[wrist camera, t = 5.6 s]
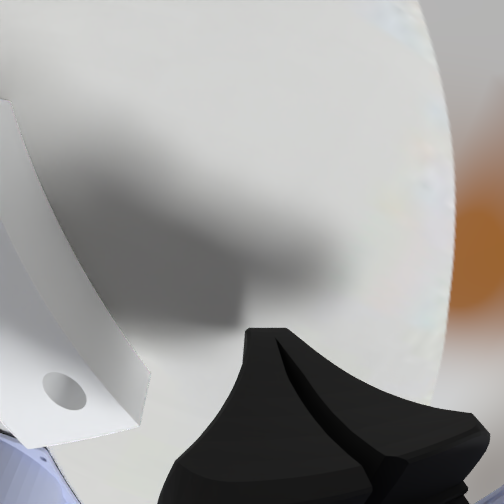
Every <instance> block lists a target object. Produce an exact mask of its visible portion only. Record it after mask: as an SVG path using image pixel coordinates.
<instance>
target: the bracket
mask: <svg viewBox="0 0 504 504" xmlns="http://www.w3.org/2000/svg"><path fill="white" fill-rule="evenodd" d="M150 377H151V372H150V370H149V369H148V368H147V366H146V365H145V364H144V362H143V361H142V360H141V358H140V357H139V356H138V354H137V353H136V351H135V350H134V349H133V347H132V346H131V344H130V343H129V341H128V340H127V339H126V337H125V336H124V334H123V333H122V331H121V330H120V328H119V327H118V325H117V324H116V322H115V321H114V319H113V318H112V316H111V315H110V313H109V311H108V310H107V308H106V307H105V305H104V304H103V302H102V300H101V299H100V297H99V295H98V294H97V292H96V291H95V289H94V287H93V286H92V284H91V282H90V280H89V279H88V277H87V275H86V274H85V272H84V270H83V268H82V266H81V265H80V263H79V261H78V259H77V257H76V256H75V254H74V252H73V250H72V248H71V246H70V244H69V242H68V241H67V239H66V237H65V235H64V233H63V231H62V229H61V227H60V225H59V223H58V221H57V219H56V217H55V214H54V212H53V210H52V208H51V206H50V204H49V202H48V199H47V197H46V195H45V193H44V190H43V188H42V186H41V183H40V181H39V179H38V176H37V174H36V171H35V169H34V167H33V164H32V161H31V159H30V156H29V154H28V151H27V148H26V146H25V143H24V140H23V137H22V134H21V132H20V129H19V126H18V123H17V120H16V116H15V113H14V110H13V107H12V103H11V101H9V100H4V99H0V421H1V422H2V424H3V425H4V426H5V427H6V428H7V429H8V430H9V431H10V432H11V433H12V434H13V435H14V436H15V437H16V438H17V439H18V440H19V441H20V442H21V443H22V444H23V445H24V446H25V447H26V448H27V449H34V448H41V447H47V446H54V445H60V444H65V443H71V442H76V441H81V440H86V439H91V438H95V437H100V436H104V435H108V434H113V433H117V432H121V431H125V430H129V429H132V428H136V427H140V424H141V419H142V414H143V409H144V404H145V400H146V395H147V390H148V386H149V381H150Z"/></svg>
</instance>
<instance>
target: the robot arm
mask: <svg viewBox="0 0 504 504" xmlns="http://www.w3.org/2000/svg"><path fill="white" fill-rule="evenodd" d="M489 442H490V433H489V432H488V431H487V430H486V429H485V428H484V426H483V425H482V424H481V423H480V422H479V421H478V420H477V418H476V417H475V416H474V415H473V414H472V413H465V412H458V411H451V410H444V409H439V408H434V407H430V406H426V405H422V404H419V403H415V402H412V401H408V400H405V399H402V398H400V397H397V396H394V395H392V394H389V393H386V392H384V391H382V390H379V389H377V388H375V387H373V386H371V385H369V384H367V383H365V382H363V381H361V380H359V379H357V378H355V377H353V376H352V375H350V374H348V373H347V372H345V371H344V370H342V369H340V368H339V367H337V366H336V365H334V364H333V363H331V362H330V361H329V360H327V359H326V358H324V357H323V356H322V355H320V354H319V353H318V352H316V351H315V350H314V349H312V348H311V347H310V346H309V345H307V344H306V343H305V342H304V341H302V340H301V339H300V338H299V337H297V336H296V335H295V334H294V333H292V332H291V331H290V330H289V329H287V328H248V329H247V330H246V331H245V340H244V352H243V364H242V367H241V369H240V372H239V375H238V378H237V380H236V382H235V385H234V387H233V389H232V391H231V393H230V394H229V396H228V398H227V400H226V401H225V403H224V405H223V406H222V408H221V410H220V411H219V413H218V414H217V416H216V417H215V418H214V420H213V421H212V422H211V423H210V425H209V426H208V427H207V428H206V430H205V431H204V432H203V433H202V435H201V436H200V437H199V438H198V439H197V440H196V441H195V442H194V443H193V444H192V445H191V446H190V447H189V448H188V449H187V450H186V451H185V452H184V453H183V454H182V455H181V456H180V457H179V458H178V459H177V460H175V462H174V464H173V466H172V468H171V470H170V472H169V474H168V476H167V479H166V481H165V483H164V485H163V488H162V490H161V493H160V496H159V499H158V503H157V504H469V503H468V501H467V499H466V498H465V496H464V494H465V493H466V492H467V491H468V487H467V486H466V484H465V483H464V481H463V480H464V479H465V477H467V475H468V474H469V473H470V472H471V470H472V469H473V468H474V467H475V465H476V464H477V463H478V461H479V460H480V459H481V457H482V456H483V454H484V453H485V451H486V449H487V447H488V445H489ZM0 504H80V503H79V501H78V500H77V498H76V497H75V495H74V494H73V492H72V491H71V489H70V488H69V486H68V485H67V483H66V482H65V480H64V478H63V477H62V475H61V473H60V472H59V470H58V468H57V467H56V465H55V463H54V462H53V460H52V458H51V456H50V454H49V453H48V451H47V450H46V449H45V448H43V447H41V448H34V449H27V448H26V447H25V446H24V445H23V444H22V443H21V442H20V441H19V440H18V439H16V438H13V437H10V436H7V435H5V434H2V433H0ZM474 504H504V485H502V486H501V487H499V488H498V489H496V490H495V491H493V492H492V493H490V494H489V495H487V496H486V497H484V498H483V499H481V500H479V501H478V502H476V503H474Z"/></svg>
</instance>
